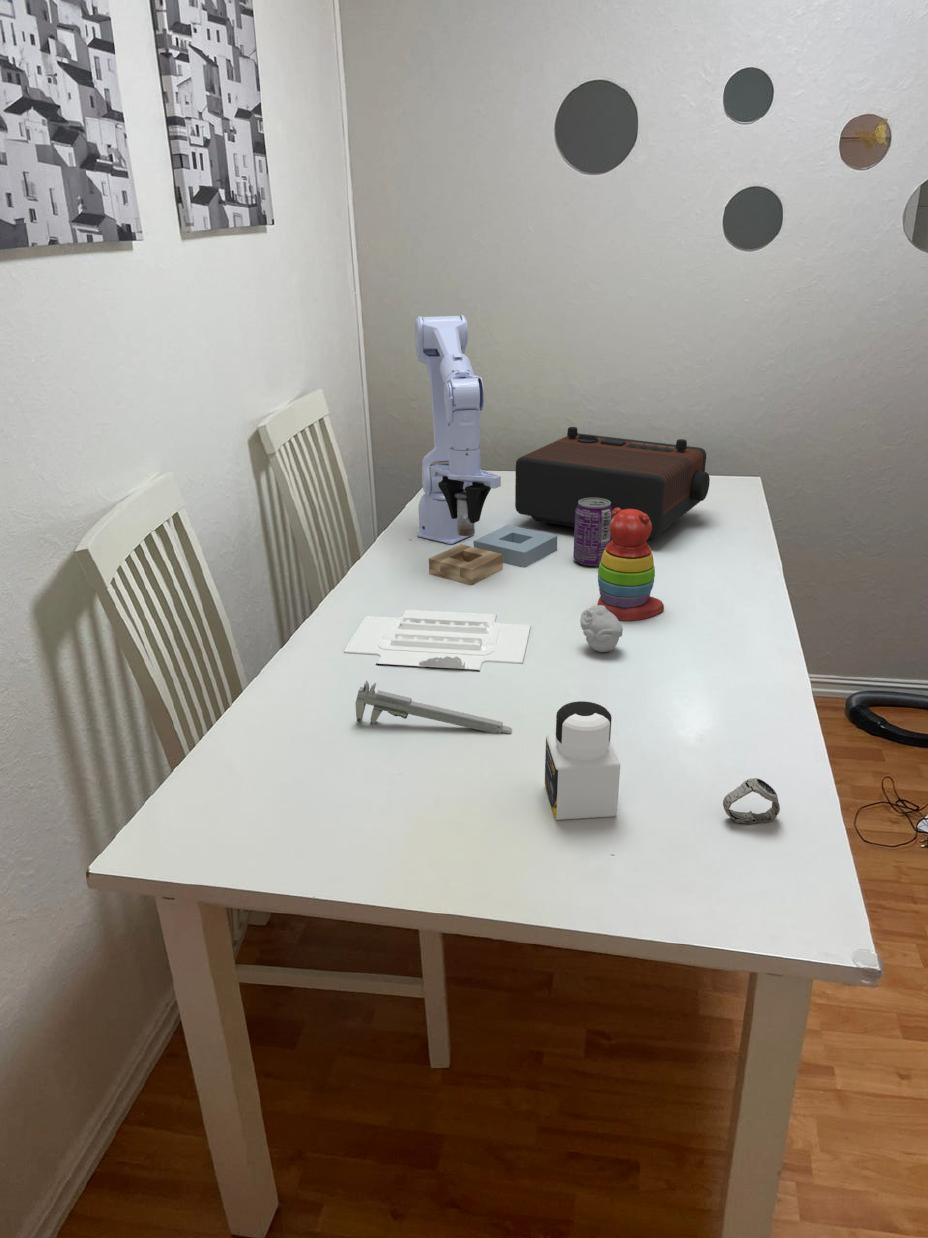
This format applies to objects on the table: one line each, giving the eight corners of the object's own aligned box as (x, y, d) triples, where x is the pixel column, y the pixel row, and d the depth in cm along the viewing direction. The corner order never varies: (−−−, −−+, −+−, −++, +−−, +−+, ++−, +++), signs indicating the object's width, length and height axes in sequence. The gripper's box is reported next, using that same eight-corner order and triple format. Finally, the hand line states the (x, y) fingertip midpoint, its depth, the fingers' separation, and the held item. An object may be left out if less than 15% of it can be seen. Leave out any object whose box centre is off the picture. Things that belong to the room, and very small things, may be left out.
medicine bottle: (544, 784, 106) (546, 696, 101) (603, 781, 107) (608, 692, 102) (554, 821, 100) (557, 729, 95) (617, 817, 100) (624, 725, 95)
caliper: (356, 725, 120) (353, 683, 117) (358, 721, 121) (355, 679, 118) (511, 736, 117) (511, 693, 114) (512, 731, 118) (512, 689, 115)
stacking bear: (668, 609, 153) (677, 508, 145) (635, 627, 146) (643, 523, 139) (615, 593, 159) (621, 496, 152) (581, 610, 153) (586, 509, 145)
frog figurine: (594, 637, 143) (596, 596, 140) (630, 650, 139) (633, 609, 136) (570, 649, 139) (572, 607, 136) (606, 663, 135) (609, 621, 132)
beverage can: (609, 555, 177) (612, 497, 172) (610, 568, 170) (614, 508, 165) (572, 554, 177) (575, 496, 172) (573, 567, 171) (575, 507, 166)
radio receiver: (711, 518, 198) (720, 437, 190) (668, 555, 177) (676, 466, 169) (567, 496, 215) (570, 420, 207) (513, 527, 194) (514, 445, 186)
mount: (429, 573, 169) (428, 558, 168) (460, 558, 176) (460, 543, 175) (471, 585, 164) (471, 569, 162) (502, 568, 171) (502, 554, 170)
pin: (451, 534, 166) (449, 492, 163) (463, 528, 169) (462, 487, 166) (468, 538, 164) (467, 495, 161) (481, 532, 167) (480, 490, 164)
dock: (473, 555, 178) (473, 540, 177) (507, 538, 187) (507, 524, 186) (524, 567, 171) (524, 552, 170) (557, 549, 180) (557, 535, 179)
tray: (370, 612, 155) (370, 593, 153) (532, 626, 151) (533, 606, 149) (337, 667, 136) (336, 645, 135) (520, 684, 133) (522, 662, 131)
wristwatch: (782, 827, 99) (788, 789, 96) (727, 830, 98) (732, 792, 96) (769, 807, 102) (775, 770, 100) (716, 811, 101) (720, 774, 99)
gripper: (418, 445, 161) (421, 518, 167) (484, 457, 153) (484, 532, 159) (442, 438, 166) (444, 508, 172) (507, 448, 158) (507, 522, 164)
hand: (465, 519), depth 166 cm, fingers closed on pin, 4 cm apart
